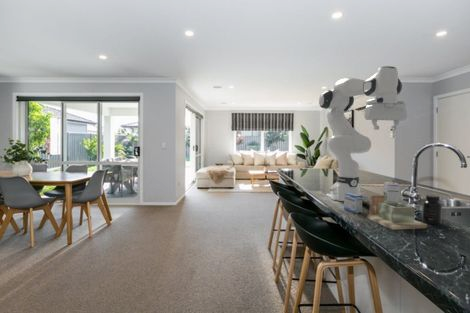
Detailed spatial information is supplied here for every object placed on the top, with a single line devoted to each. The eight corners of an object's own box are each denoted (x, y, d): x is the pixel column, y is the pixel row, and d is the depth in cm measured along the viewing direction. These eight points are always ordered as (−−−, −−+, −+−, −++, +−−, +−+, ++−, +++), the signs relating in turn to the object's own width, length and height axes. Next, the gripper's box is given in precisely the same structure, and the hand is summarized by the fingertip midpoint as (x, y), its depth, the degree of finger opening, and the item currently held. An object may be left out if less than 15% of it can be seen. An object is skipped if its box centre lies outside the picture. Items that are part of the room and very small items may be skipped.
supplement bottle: (423, 219, 125) (425, 193, 124) (442, 222, 120) (444, 195, 119) (420, 222, 120) (421, 195, 119) (439, 226, 115) (441, 198, 114)
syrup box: (398, 212, 136) (400, 183, 135) (386, 211, 138) (387, 183, 137) (394, 209, 142) (395, 182, 141) (382, 208, 143) (383, 181, 142)
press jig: (367, 218, 126) (368, 201, 125) (397, 216, 128) (398, 200, 128) (392, 229, 110) (393, 210, 109) (427, 227, 112) (428, 209, 112)
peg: (369, 214, 131) (370, 194, 131) (377, 214, 132) (378, 194, 131) (375, 217, 127) (376, 196, 126) (383, 217, 128) (384, 196, 127)
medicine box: (343, 209, 141) (344, 193, 141) (349, 208, 143) (350, 192, 142) (355, 213, 134) (356, 196, 133) (362, 212, 136) (362, 195, 135)
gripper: (400, 102, 134) (399, 130, 135) (363, 100, 131) (362, 129, 131) (410, 100, 128) (409, 129, 129) (371, 99, 124) (370, 129, 125)
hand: (385, 129), depth 130 cm, fingers open, 8 cm apart
